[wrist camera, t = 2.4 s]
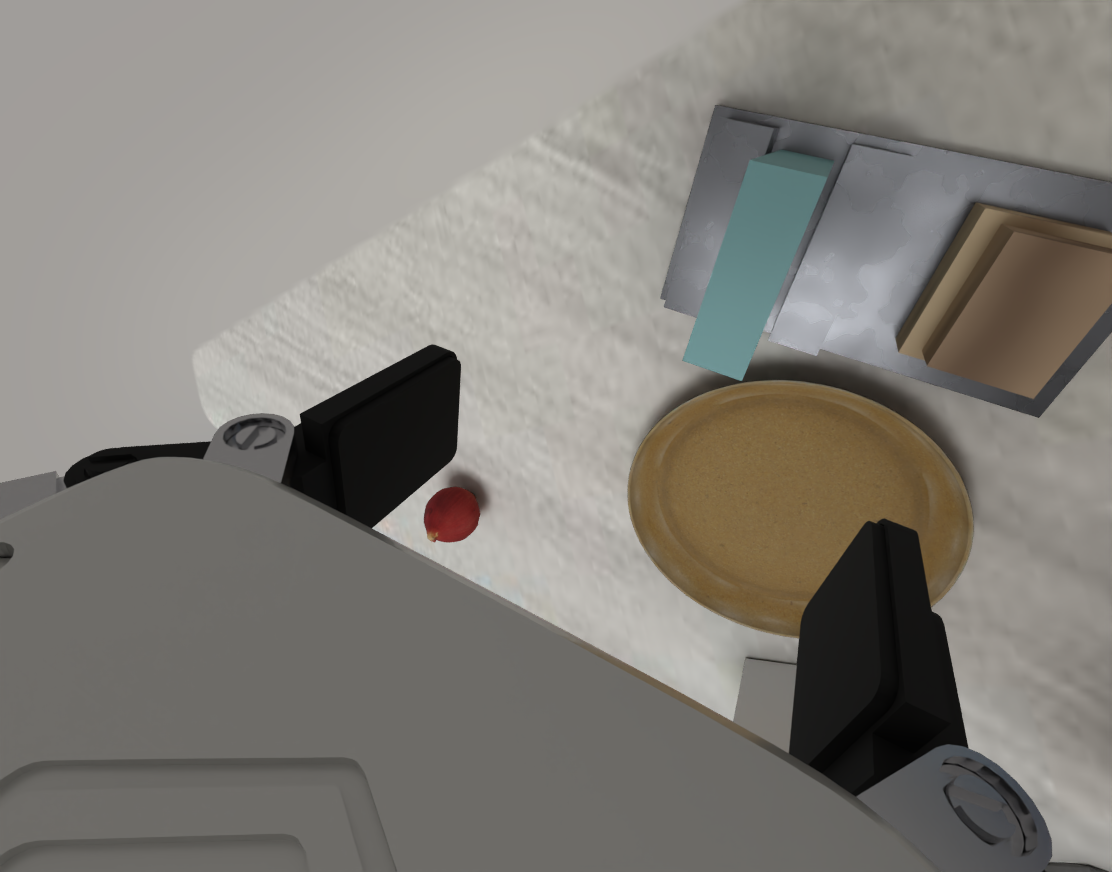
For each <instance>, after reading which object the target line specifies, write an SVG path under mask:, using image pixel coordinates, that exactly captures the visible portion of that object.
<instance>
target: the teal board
mask: <svg viewBox="0 0 1112 872" xmlns="http://www.w3.org/2000/svg"><path fill="white" fill-rule="evenodd" d="M833 164H834V161H833V160H828V159H823V158H819V157H814V156H809V155H805V154H800V153H795V152H790V151H786V150H779V151H776V152H773V153H770V154H767V155H764V156H761V157H758V158H755V159H751V160H750V161H749V164H748V167H747V170H746V173H745V176H744V179H743V182H742V185H741V188H740V191H739V194H738V197H737V200H736V203H735V206H734V209H733V212H732V215H731V218H730V221H729V224H728V227H727V230H726V233H725V236H724V238H723V241H722V244H721V247H720V250H719V253H718V256H717V259H716V262H715V265H714V268H713V271H712V274H711V277H710V280H709V283H708V286H707V289H706V292H705V295H704V298H703V301H702V304H701V307H700V310H699V313H698V316H697V319H696V322H695V325H694V328H693V331H692V334H691V337H690V340H689V343H688V346H687V349H686V352H685V355H684V358H683V361H685V362H688V363H691V364H693V365H696V366H699V367H702V368H705V369H708V370H711V371H714V372H716V373H719V374H722V375H725V376H728V377H731V378H734V379H737V380H739V381H742V379H743V377H744V375H745V372H746V370H747V368H748V365H749V363H750V360H751V358H752V356H753V353H754V351H755V349H756V346H757V344H758V341H759V339H760V337H761V334H762V332H763V330H764V327H765V325H766V323H767V320H768V318H769V315H770V313H771V311H772V308H773V306H774V304H775V301H776V299H777V296H778V294H779V292H780V289H781V287H782V285H783V282H784V280H785V277H786V275H787V273H788V270H789V268H790V266H791V263H792V261H793V258H794V256H795V254H796V251H797V249H798V247H799V244H800V242H801V239H802V237H803V235H804V232H805V230H806V228H807V225H808V223H809V221H810V218H811V216H812V213H813V211H814V209H815V206H816V204H817V202H818V199H819V197H820V194H821V192H822V190H823V187H824V185H825V183H826V180H827V178H828V175H829V173H830V171H831V168H832V166H833Z"/></svg>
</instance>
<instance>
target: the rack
mask: <svg viewBox="0 0 1112 872" xmlns="http://www.w3.org/2000/svg"><path fill="white" fill-rule="evenodd" d="M779 150H786V151H790V152H795V153H800V154H805V155H809V156H814V157H819V158H823V159H828V160H833V161H834V164H833V166H832V168H831V171H830V173H829V175H828V178H827V180H826V183H825V185H824V187H823V190H822V192H821V194H820V197H819V199H818V202H817V204H816V206H815V209H814V211H813V213H812V216H811V218H810V221H809V223H808V225H807V228H806V230H805V232H804V235H803V237H802V239H801V242H800V244H799V247H798V249H797V251H796V254H795V256H794V258H793V261H792V263H791V266H790V268H789V270H788V273H787V275H786V277H785V280H784V282H783V285H782V287H781V289H780V292H779V294H778V296H777V299H776V301H775V304H774V306H773V308H772V311H771V313H770V315H769V318H768V320H767V323H766V325H765V327H764V330H763V331H765V332H768V333H770V336H769V339H768V341H771V342H774V343H777V344H780V345H784V346H787V347H790V348H793V349H796V350H799V351H802V352H805V353H809V354H812V355H815V356H817V354H818V352H819V350H820V349H822V350H826V351H829V352H832V353H835V354H838V355H841V356H845V357H848V358H851V359H854V360H857V361H860V362H864V363H867V364H870V365H873V366H876V367H879V368H883V369H886V370H889V371H892V372H895V373H898V374H902V375H905V376H908V377H911V378H914V379H917V380H921V381H924V382H927V383H930V384H933V385H936V386H940V387H943V388H946V389H949V390H952V391H955V392H959V393H962V394H965V395H968V396H971V397H974V398H978V399H981V400H984V401H987V402H990V403H993V404H997V405H1000V406H1003V407H1006V408H1009V409H1013V410H1016V411H1019V412H1022V413H1025V414H1028V415H1032V416H1035V417H1038V418H1039V417H1040V416H1041V415H1042V413H1043V412H1044V411H1045V410H1046V409H1047V408H1048V406H1049V405H1050V404H1051V403H1052V402H1053V401H1054V399H1055V398H1056V397H1057V396H1058V395H1059V393H1060V392H1061V391H1062V390H1063V389H1064V388H1065V386H1066V385H1067V384H1068V383H1069V382H1070V380H1071V379H1072V378H1073V377H1074V376H1075V375H1076V373H1077V372H1078V371H1079V370H1080V369H1081V367H1082V366H1083V365H1084V364H1085V363H1086V362H1087V360H1088V359H1089V358H1090V357H1091V356H1092V354H1093V353H1094V352H1095V351H1096V350H1097V349H1098V347H1099V346H1100V345H1101V344H1102V343H1103V342H1104V340H1105V339H1106V338H1107V337H1108V336H1109V334H1110V333H1111V332H1112V304H1111V305H1110V306H1109V307H1108V309H1107V310H1106V311H1105V312H1104V313H1103V315H1102V316H1101V317H1100V318H1099V319H1098V321H1097V322H1096V323H1095V324H1094V326H1093V327H1092V328H1091V329H1090V330H1089V332H1088V333H1087V334H1086V335H1085V337H1084V338H1083V339H1082V340H1081V341H1080V343H1079V344H1078V345H1077V346H1076V348H1075V349H1074V350H1073V351H1072V352H1071V354H1070V355H1069V356H1068V357H1067V359H1066V360H1065V361H1064V362H1063V363H1062V365H1061V366H1060V367H1059V368H1058V370H1057V371H1056V372H1055V373H1054V374H1053V376H1052V377H1051V378H1050V379H1049V381H1048V382H1047V383H1046V384H1045V385H1044V387H1043V388H1042V389H1041V390H1040V392H1039V393H1038V394H1037V395H1036V396H1035V398H1034V399H1032V398H1029V397H1026V396H1022V395H1019V394H1016V393H1013V392H1009V391H1006V390H1003V389H1000V388H996V387H993V386H990V385H987V384H983V383H980V382H977V381H974V380H970V379H967V378H964V377H961V376H957V375H954V374H951V373H948V372H944V371H941V370H938V369H935V368H931V367H928V366H927V365H926V362H925V361H924V360H921V359H918V358H914V357H911V356H908V355H904V354H901V353H898V349H897V344H896V340H895V339H896V337H897V336H898V334H899V332H900V330H901V329H902V327H903V325H904V324H905V322H906V320H907V319H908V317H909V315H910V313H911V312H912V310H913V308H914V307H915V305H916V303H917V302H918V300H919V298H920V296H921V295H922V293H923V291H924V290H925V288H926V286H927V285H928V283H929V281H930V279H931V278H932V276H933V274H934V273H935V271H936V269H937V268H938V266H939V264H940V262H941V261H942V259H943V257H944V256H945V254H946V252H947V251H948V249H949V247H950V246H951V244H952V242H953V240H954V239H955V237H956V235H957V234H958V232H959V230H960V229H961V227H962V225H963V223H964V222H965V220H966V218H967V217H968V215H969V213H970V212H971V210H972V208H973V206H974V205H975V203H981V204H985V205H990V206H994V207H999V208H1004V209H1008V210H1013V211H1017V212H1022V213H1026V214H1031V215H1036V216H1040V217H1045V218H1049V219H1054V220H1058V221H1063V222H1067V223H1072V224H1077V225H1081V226H1086V227H1090V228H1095V229H1099V230H1104V231H1109V232H1111V233H1112V182H1107V181H1102V180H1096V179H1091V178H1086V177H1081V176H1076V175H1071V174H1066V173H1061V172H1056V171H1051V170H1045V169H1040V168H1035V167H1030V166H1025V165H1020V164H1015V163H1010V162H1005V161H1000V160H994V159H989V158H984V157H979V156H974V155H969V154H964V153H959V152H954V151H949V150H943V149H938V148H933V147H928V146H923V145H918V144H913V143H908V142H903V141H898V140H892V139H887V138H882V137H877V136H872V135H867V134H862V133H857V132H852V131H847V130H841V129H836V128H831V127H826V126H821V125H816V124H811V123H806V122H801V121H796V120H791V119H785V118H780V117H775V116H770V115H765V114H760V113H755V112H750V111H745V110H740V109H734V108H729V107H724V106H719V105H715V108H714V112H713V115H712V119H711V122H710V126H709V129H708V133H707V136H706V140H705V143H704V147H703V150H702V154H701V157H700V161H699V164H698V168H697V171H696V175H695V178H694V182H693V185H692V189H691V192H690V196H689V199H688V203H687V206H686V210H685V214H684V217H683V221H682V224H681V228H680V231H679V235H678V238H677V242H676V245H675V249H674V252H673V256H672V259H671V263H670V266H669V270H668V273H667V277H666V280H665V284H664V287H663V291H662V294H661V299H664V300H666V301H665V304H664V307H665V308H668V309H671V310H674V311H677V312H680V313H684V314H687V315H690V316H693V317H696V318H697V316H698V313H699V310H700V307H701V304H702V301H703V298H704V295H705V292H706V289H707V286H708V283H709V280H710V277H711V274H712V271H713V268H714V265H715V262H716V259H717V256H718V253H719V250H720V247H721V244H722V241H723V238H724V236H725V233H726V230H727V227H728V224H729V221H730V218H731V215H732V212H733V209H734V206H735V203H736V200H737V197H738V194H739V191H740V188H741V185H742V182H743V179H744V176H745V173H746V170H747V167H748V164H749V161H750V160H751V159H755V158H758V157H761V156H764V155H767V154H770V153H773V152H776V151H779Z"/></svg>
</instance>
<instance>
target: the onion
mask: <svg viewBox="0 0 1112 872" xmlns="http://www.w3.org/2000/svg"><path fill="white" fill-rule="evenodd" d="M479 517H480V511H479V506H478V503H477V501H476V497H475V495H474V494H473V493H471V492H469V491H468V490H466V489H463V488H460V487H450V488H444V489H442V490H440V491H438V492H437V493H436V494H435V495H434V496H433V497H432V498H431V499H430V500H429V501H428V503H427V505H426V508H425V514H424V524H425V528H426V530H427V538H428V539H429V540H430V541H433V542H436V540H438V541H442V542H456V541H461V540H463V539H465V538H467V537H468V536H469V535H470V534H471V533H472V532H473V531H474V530H475V529H476V527H477V526H478V521H479Z"/></svg>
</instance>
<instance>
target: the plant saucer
mask: <svg viewBox="0 0 1112 872" xmlns="http://www.w3.org/2000/svg"><path fill="white" fill-rule="evenodd" d="M628 506H629V513H630V517H631V521H632V524H633V527H634V530H635V532H636V535H637V537H638V539H639V541H640V543H641V545H642V546H643V548H644V550H645V552H646V553H647V555H648V556H649V558H650V559H651V560H652V562H653V563H654V564H655V566H656V567H657V568H658V569H659V570H660V572H661V573H662V574H663V575H664V576H665V577H666V578H667V579H668V580H669V581H670V582H671V583H672V584H673V585H675V586H676V587H677V588H678V589H679V590H680V591H682V592H683V593H684V594H685V595H687V596H688V597H690V598H691V599H692V600H694V601H695V602H697V603H698V604H700V605H702V606H703V607H705V608H707V609H708V610H710V611H712V612H714V613H716V614H718V615H720V616H722V617H724V618H726V619H728V620H731V621H733V622H735V623H738V624H740V625H743V626H746V627H749V628H752V629H755V630H759V631H762V632H766V633H770V634H775V635H780V636H785V637H791V638H799V635H800V624H801V618H802V615H803V612H804V610H805V608H806V606H807V604H808V603H809V601H810V600H811V599H812V597H813V596H814V594H815V593H816V592H817V590H818V589H819V587H820V586H821V584H822V583H823V582H824V580H825V579H826V577H827V576H828V575H829V573H830V572H831V570H832V569H833V567H834V566H835V565H836V563H837V562H838V560H839V559H840V558H841V556H842V555H843V553H844V552H845V550H846V549H847V548H848V546H849V545H850V543H851V542H852V541H853V539H854V538H855V536H856V535H857V533H858V532H859V531H860V529H861V528H862V526H863V525H864V524H865V523H866V522H867V521H872V522H874V523H877V522H878V521H879V520H881V519H884V518H885V519H887V520H890V521H892V522H895V523H898V524H900V525H903V526H905V527H908V528H910V529H913V530H915V531H917V533H918V536H919V542H920V548H921V553H922V559H923V565H924V570H925V576H926V582H927V587H928V593H929V599H930V604H931V607H932V606H934V605H935V604H936V603H937V602H938V601H939V600H941V599H942V598H943V597H944V595H945V594H946V593H947V592H948V591H949V590H950V589H951V587H952V586H953V585H954V584H955V582H956V581H957V579H958V578H959V576H960V575H961V573H962V571H963V569H964V567H965V565H966V562H967V560H968V557H969V554H970V551H971V547H972V541H973V532H974V526H973V513H972V507H971V503H970V499H969V496H968V493H967V490H966V488H965V485H964V483H963V481H962V479H961V477H960V475H959V473H958V471H957V470H956V468H955V467H954V465H953V464H952V462H951V461H950V459H949V458H948V457H947V455H946V454H945V453H944V452H943V451H942V449H941V448H940V447H939V446H938V445H937V444H936V443H935V442H934V441H933V440H932V439H931V438H930V437H929V436H927V435H926V434H925V433H924V432H923V431H922V430H921V429H919V428H918V427H917V426H915V425H914V424H913V423H911V422H910V421H909V420H907V419H906V418H904V417H902V416H901V415H899V414H898V413H896V412H895V411H893V410H891V409H889V408H887V407H885V406H883V405H881V404H879V403H877V402H875V401H873V400H871V399H868V398H866V397H864V396H861V395H858V394H855V393H853V392H850V391H847V390H843V389H840V388H836V387H832V386H827V385H823V384H818V383H811V382H804V381H794V380H762V381H751V382H745V383H739V384H734V385H729V386H725V387H722V388H718V389H715V390H712V391H709V392H706V393H704V394H701V395H699V396H697V397H694V398H693V399H691V400H689V401H687V402H685V403H683V404H682V405H680V406H678V407H677V408H675V409H674V410H672V411H671V412H670V413H668V414H667V415H666V416H665V417H664V418H662V419H661V420H660V421H659V422H658V423H657V424H656V425H655V426H654V427H653V429H652V430H651V431H650V432H649V433H648V435H647V436H646V437H645V439H644V440H643V442H642V443H641V445H640V447H639V449H638V451H637V453H636V455H635V457H634V460H633V463H632V466H631V469H630V474H629V480H628Z"/></svg>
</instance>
